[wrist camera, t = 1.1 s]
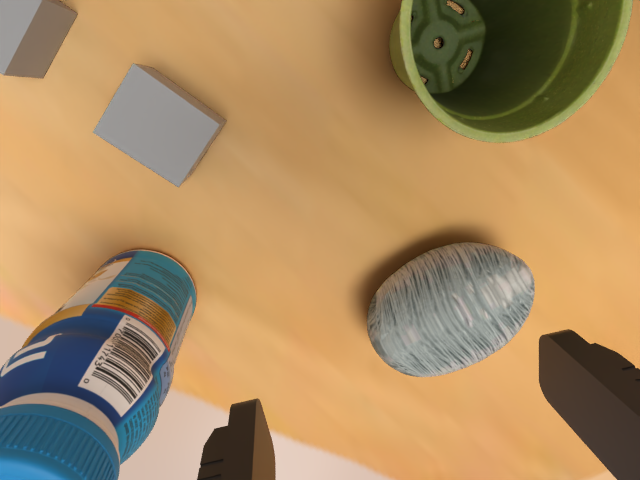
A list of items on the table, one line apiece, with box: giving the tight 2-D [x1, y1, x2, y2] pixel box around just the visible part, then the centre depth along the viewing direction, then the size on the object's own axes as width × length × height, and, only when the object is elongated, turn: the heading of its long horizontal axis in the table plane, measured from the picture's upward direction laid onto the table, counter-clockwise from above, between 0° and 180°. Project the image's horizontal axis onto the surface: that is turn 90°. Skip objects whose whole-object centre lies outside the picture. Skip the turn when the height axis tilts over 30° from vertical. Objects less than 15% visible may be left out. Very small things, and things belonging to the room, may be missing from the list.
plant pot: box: [389, 0, 633, 143], centre depth 25 cm, size 12×12×11 cm
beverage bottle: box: [0, 250, 196, 480], centre depth 25 cm, size 8×8×20 cm
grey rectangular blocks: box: [0, 0, 226, 187], centre depth 27 cm, size 5×18×4 cm, turn 53°
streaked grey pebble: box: [367, 242, 535, 377], centre depth 34 cm, size 14×10×10 cm
